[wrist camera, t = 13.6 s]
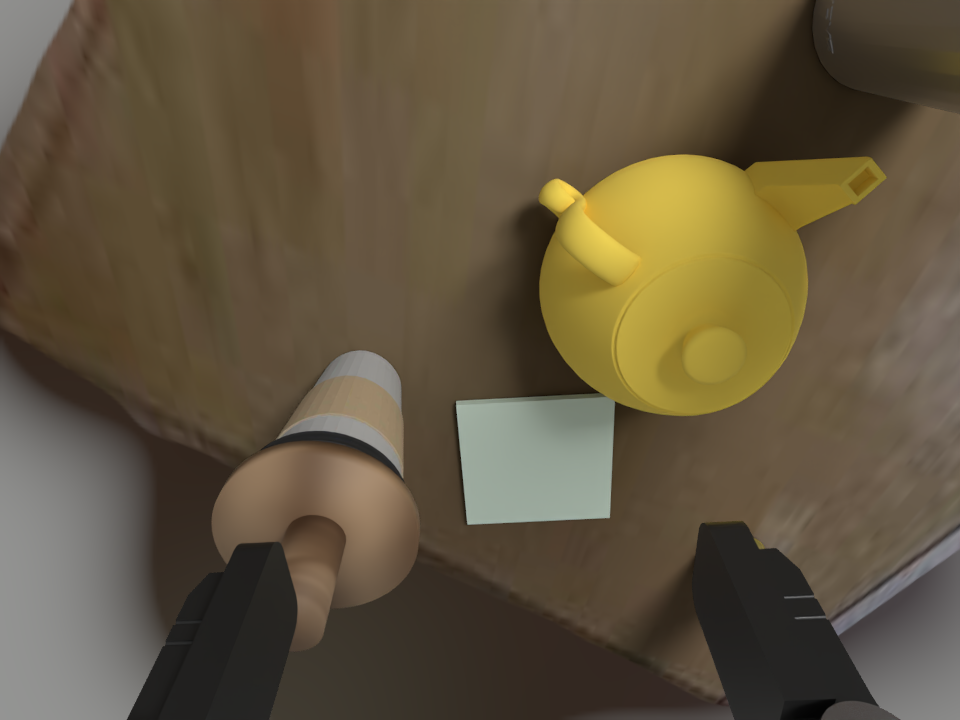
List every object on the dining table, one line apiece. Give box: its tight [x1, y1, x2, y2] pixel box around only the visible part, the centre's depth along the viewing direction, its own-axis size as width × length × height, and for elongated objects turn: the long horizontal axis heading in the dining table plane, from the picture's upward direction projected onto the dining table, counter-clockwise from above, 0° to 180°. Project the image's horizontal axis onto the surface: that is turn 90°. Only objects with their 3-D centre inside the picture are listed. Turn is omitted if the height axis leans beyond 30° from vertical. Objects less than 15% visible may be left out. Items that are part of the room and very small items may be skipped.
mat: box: [456, 393, 615, 525], centre depth 52 cm, size 12×12×1 cm
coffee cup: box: [260, 350, 404, 482], centre depth 43 cm, size 9×9×15 cm
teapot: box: [539, 154, 887, 416], centre depth 38 cm, size 20×19×13 cm
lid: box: [211, 441, 421, 652], centre depth 33 cm, size 11×11×7 cm
